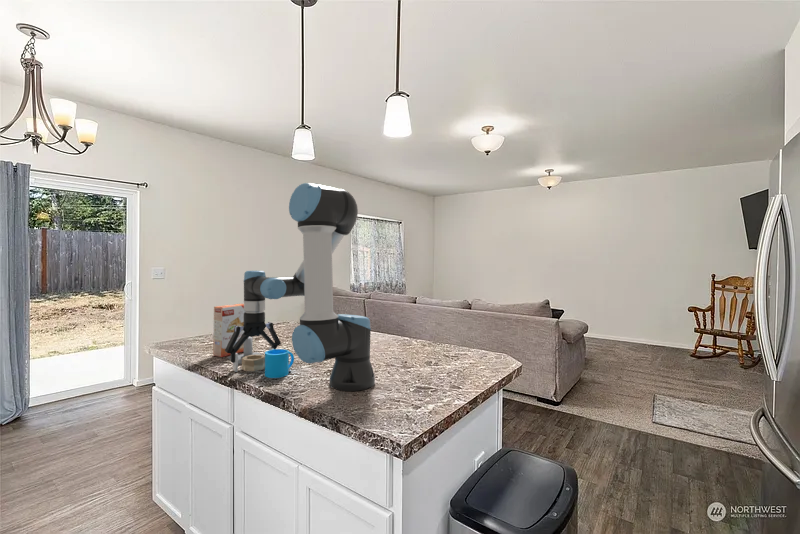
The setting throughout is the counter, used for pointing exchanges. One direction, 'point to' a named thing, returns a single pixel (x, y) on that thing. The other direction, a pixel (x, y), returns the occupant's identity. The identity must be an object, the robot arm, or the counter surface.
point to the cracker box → (226, 327)
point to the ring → (253, 362)
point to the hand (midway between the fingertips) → (253, 367)
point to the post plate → (246, 350)
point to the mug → (277, 363)
